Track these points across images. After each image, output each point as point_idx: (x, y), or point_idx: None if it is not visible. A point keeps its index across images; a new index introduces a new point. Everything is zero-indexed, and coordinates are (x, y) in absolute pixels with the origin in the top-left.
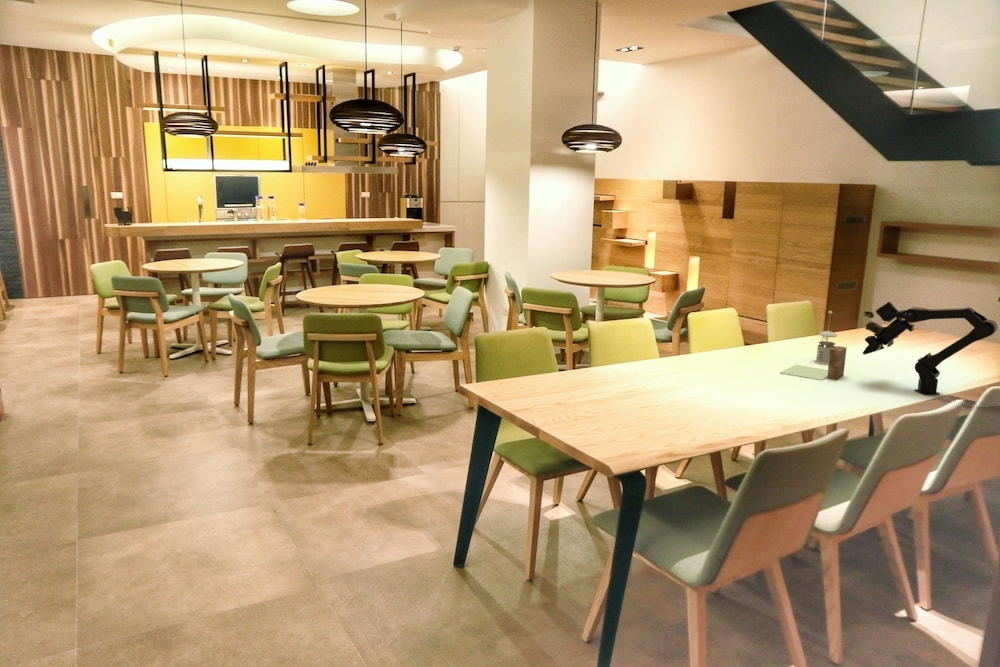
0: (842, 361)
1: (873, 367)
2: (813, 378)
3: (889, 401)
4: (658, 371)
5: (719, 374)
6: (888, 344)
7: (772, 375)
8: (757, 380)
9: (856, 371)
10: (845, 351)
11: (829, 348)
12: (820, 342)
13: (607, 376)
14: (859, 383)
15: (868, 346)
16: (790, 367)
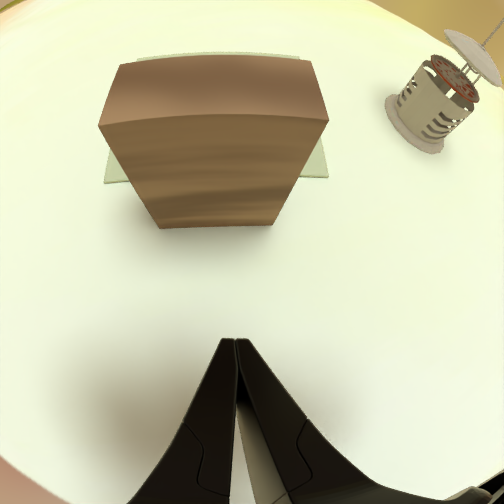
0: (226, 182)
1: (486, 269)
2: (110, 150)
3: (19, 466)
4: (50, 7)
5: (58, 31)
6: (483, 487)
7: (95, 66)
8: (28, 82)
9: (406, 242)
10: (294, 141)
11: (438, 92)
12: (445, 62)
13: (11, 18)
14: (171, 341)
15: (169, 460)
16: (240, 52)
